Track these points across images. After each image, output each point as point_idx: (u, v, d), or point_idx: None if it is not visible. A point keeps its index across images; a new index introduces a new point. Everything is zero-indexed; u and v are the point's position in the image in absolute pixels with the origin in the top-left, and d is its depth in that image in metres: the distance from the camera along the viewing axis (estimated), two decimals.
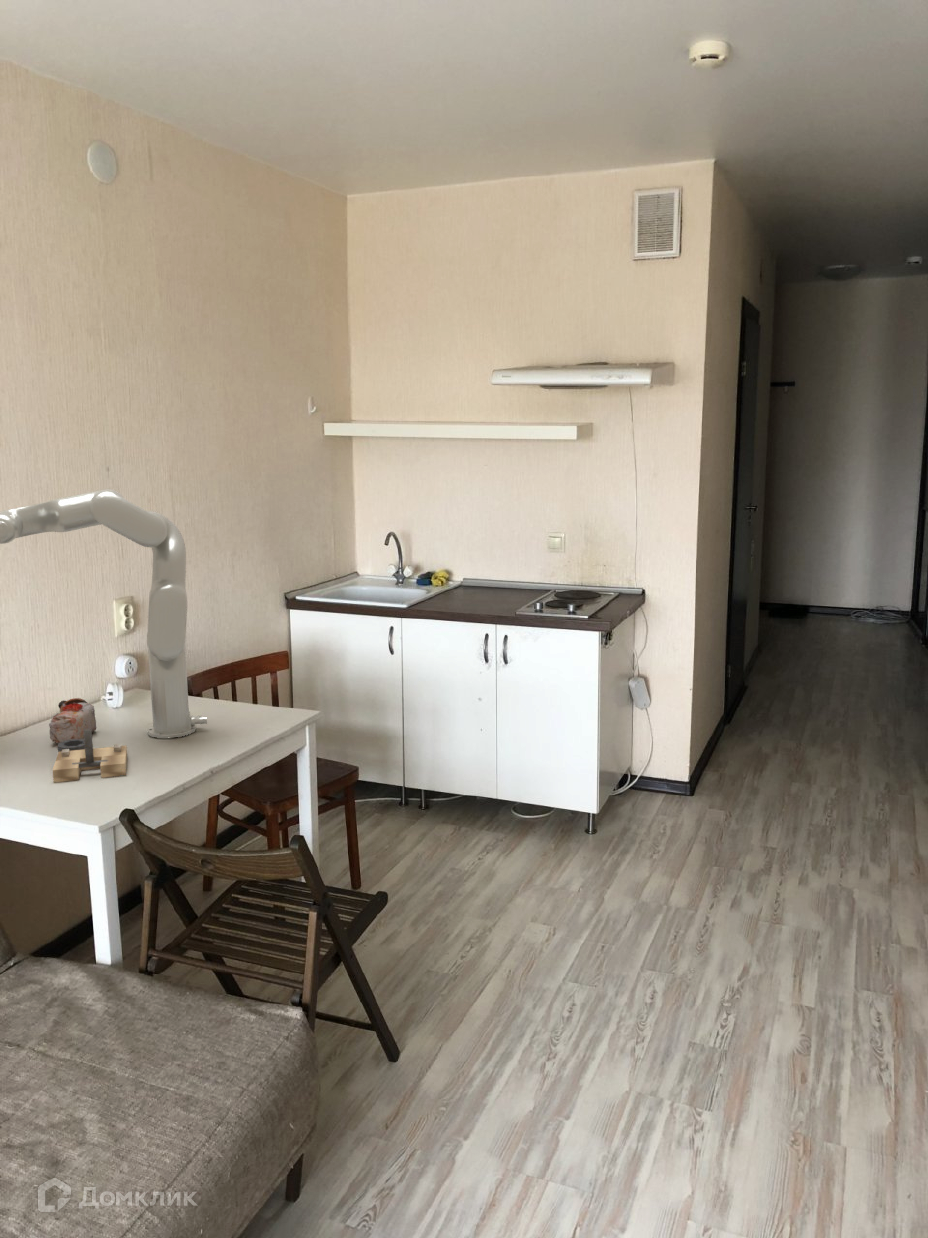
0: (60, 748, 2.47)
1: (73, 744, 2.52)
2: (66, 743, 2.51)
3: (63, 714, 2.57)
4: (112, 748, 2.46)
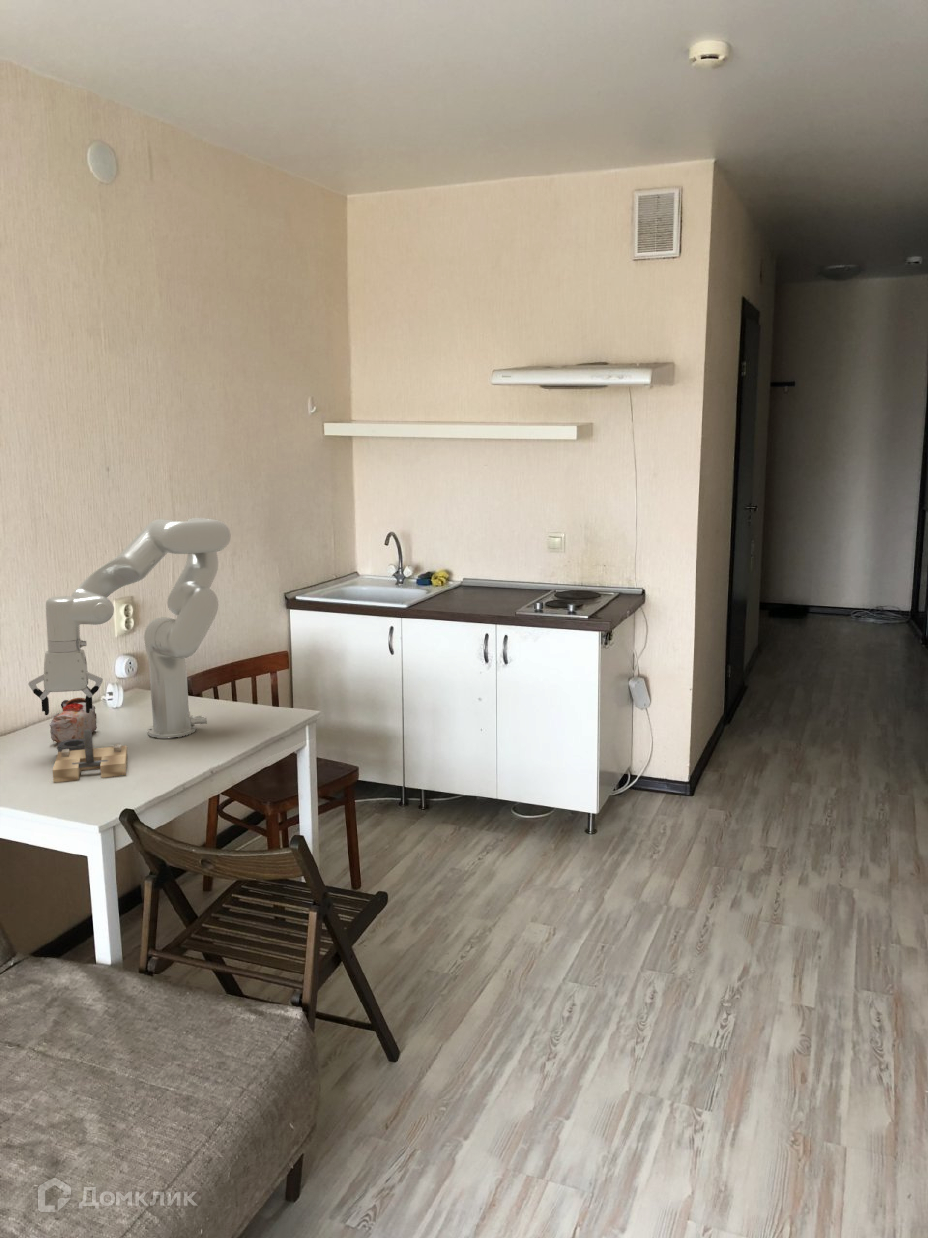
0: (60, 748, 2.47)
1: (73, 744, 2.52)
2: (66, 743, 2.51)
3: (64, 714, 2.57)
4: (112, 748, 2.46)
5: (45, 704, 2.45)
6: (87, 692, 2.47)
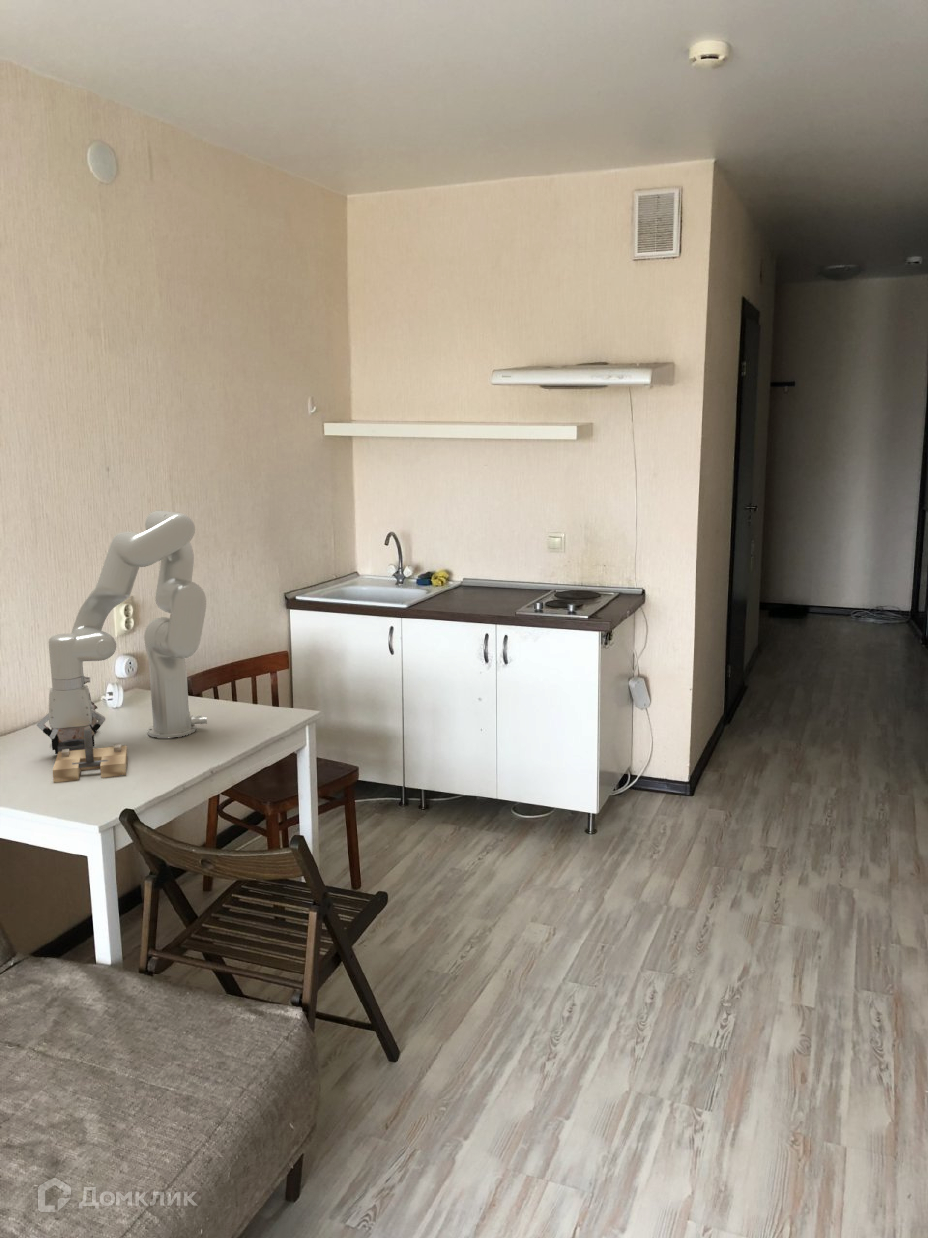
0: (60, 748, 2.47)
1: (73, 744, 2.52)
2: (66, 743, 2.51)
3: None
4: (112, 748, 2.46)
5: (55, 743, 2.47)
6: None
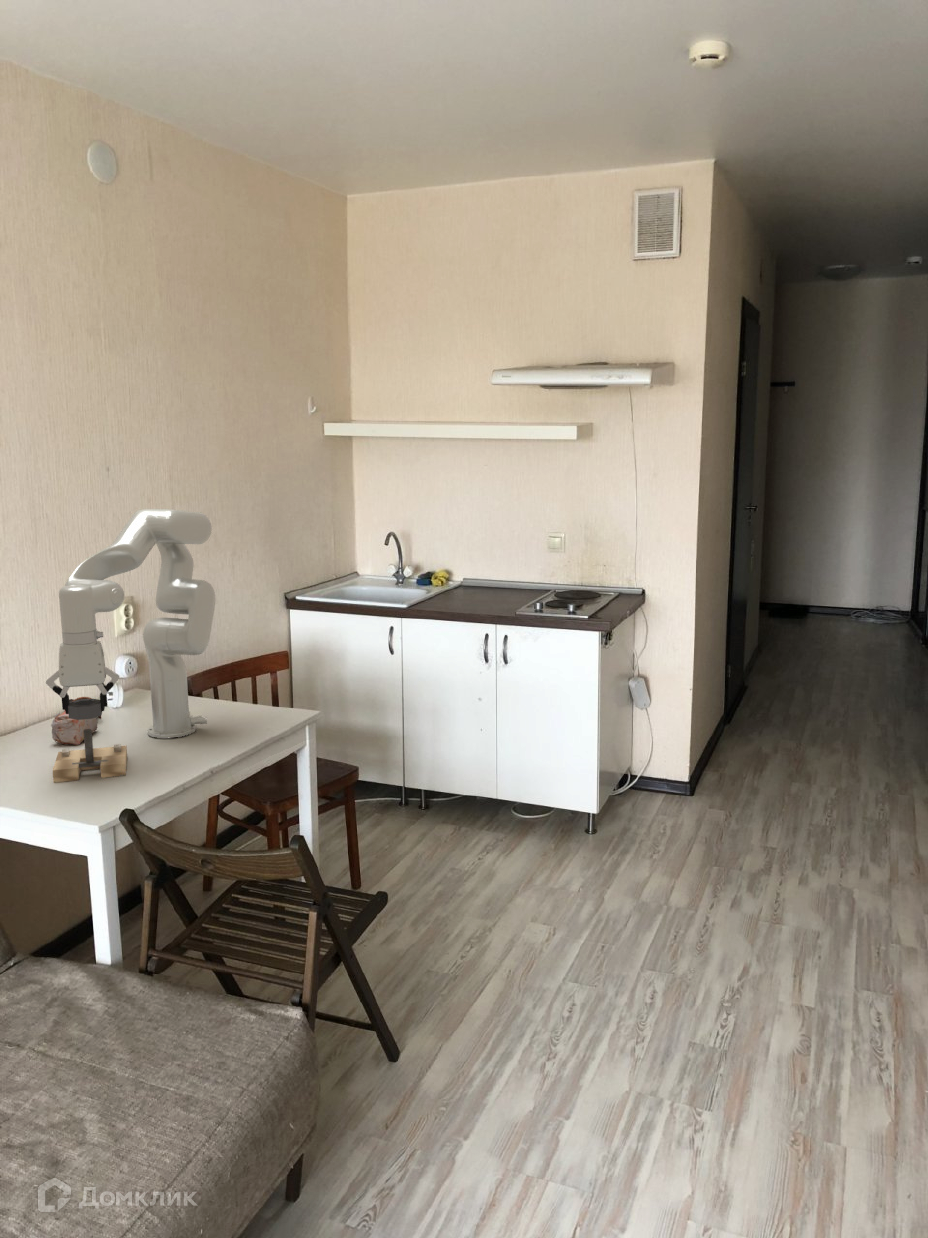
0: (71, 707, 2.30)
1: (84, 704, 2.35)
2: (77, 703, 2.34)
3: (65, 714, 2.57)
4: (112, 748, 2.46)
5: (66, 702, 2.30)
6: (102, 689, 2.33)
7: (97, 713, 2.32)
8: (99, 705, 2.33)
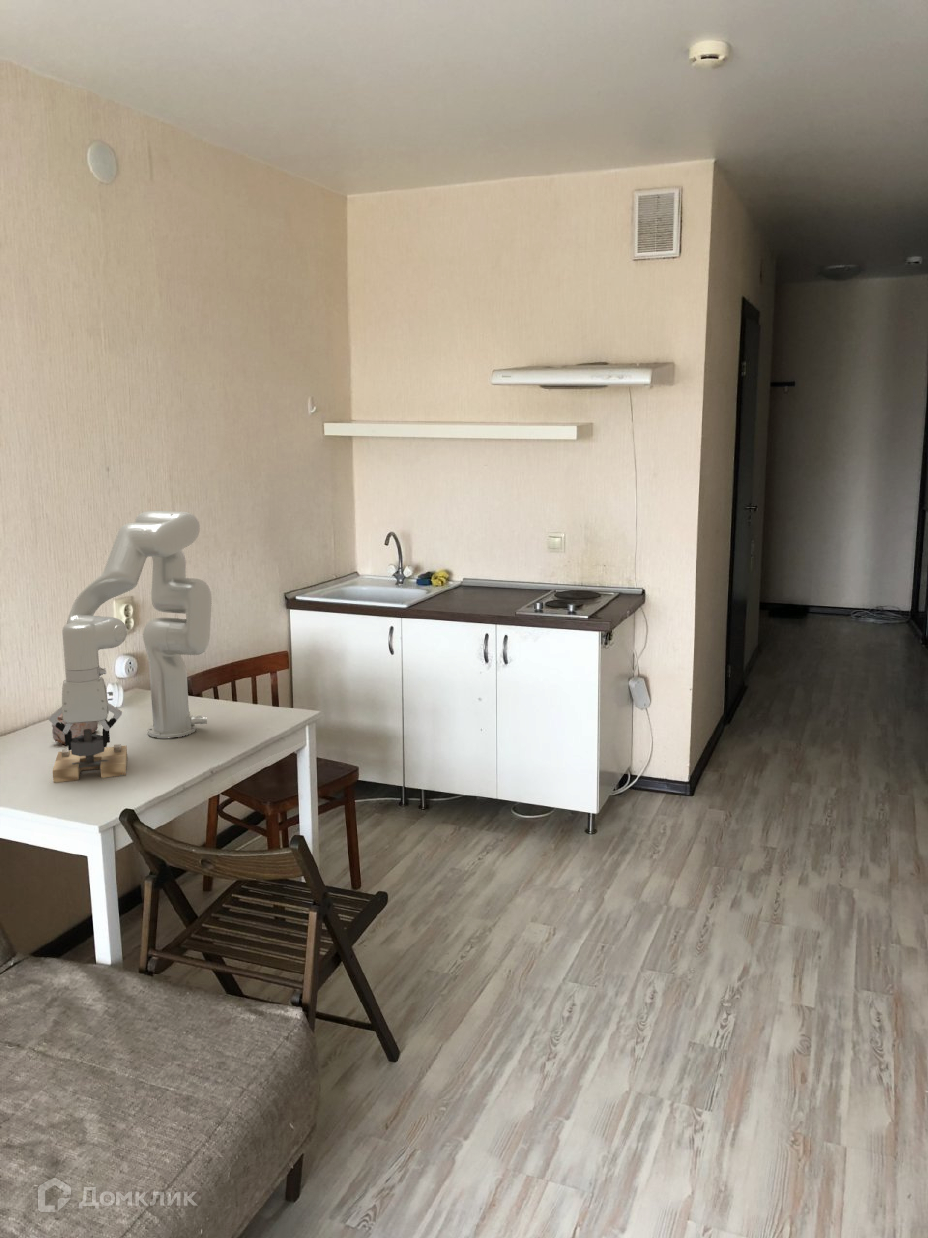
0: (73, 744, 2.32)
1: None
2: (80, 739, 2.36)
3: None
4: (112, 748, 2.46)
5: (68, 738, 2.32)
6: (105, 725, 2.34)
7: (99, 750, 2.34)
8: (102, 741, 2.34)
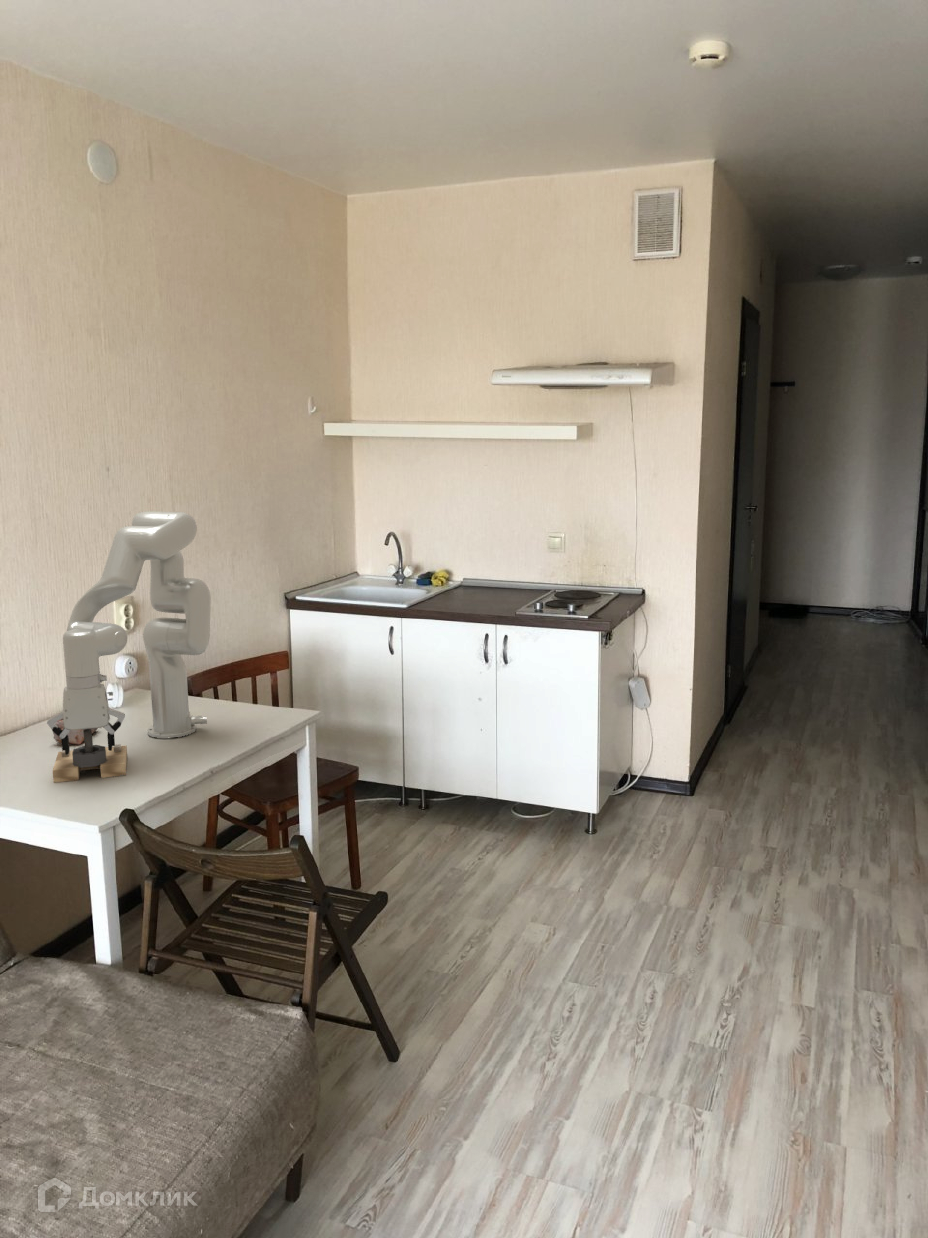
0: (75, 755, 2.33)
1: None
2: (81, 750, 2.36)
3: None
4: (112, 748, 2.46)
5: (65, 743, 2.32)
6: (109, 729, 2.35)
7: (101, 761, 2.35)
8: (103, 752, 2.35)
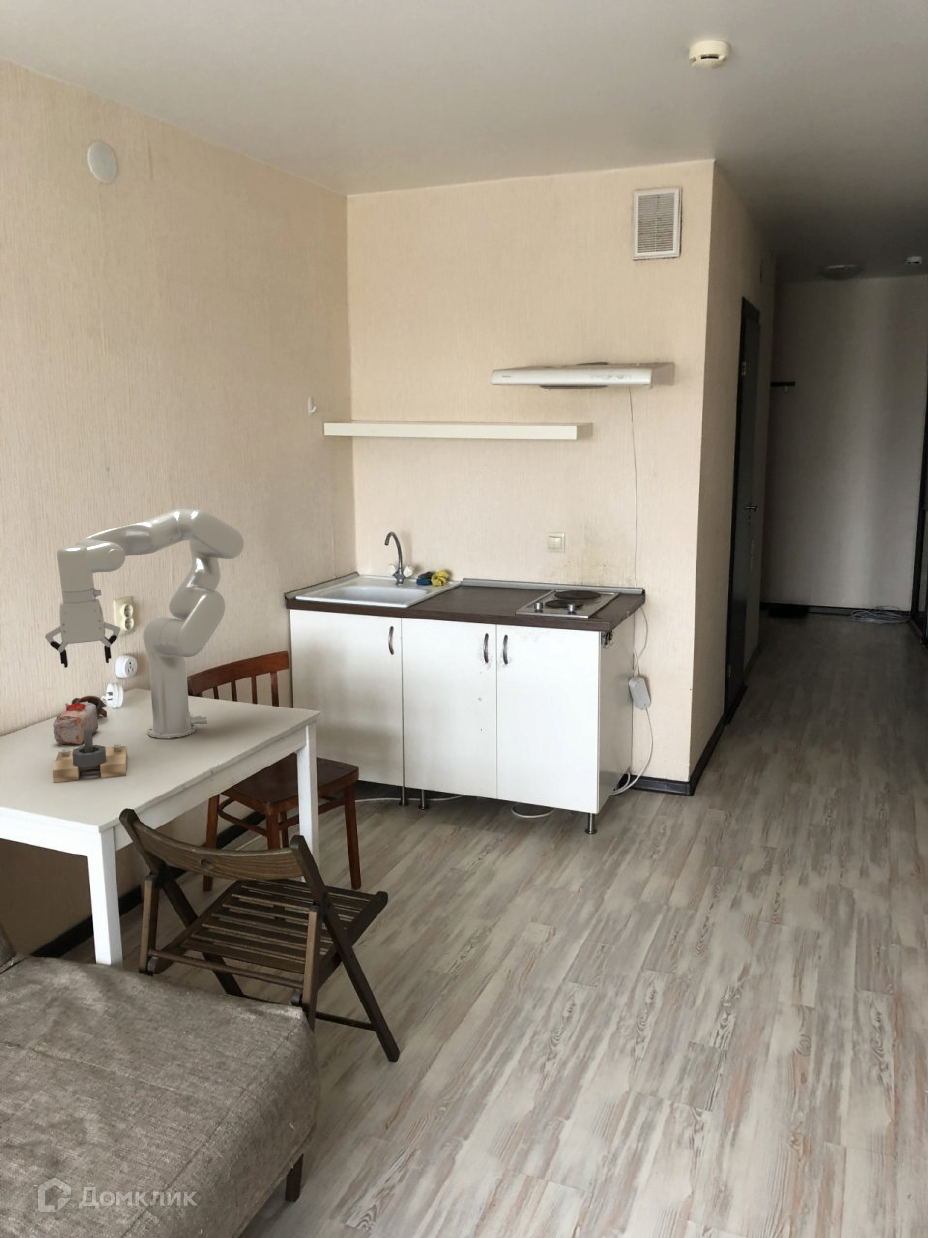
0: (75, 755, 2.33)
1: None
2: (81, 750, 2.36)
3: (67, 714, 2.58)
4: (112, 748, 2.46)
5: (64, 656, 2.40)
6: (105, 642, 2.43)
7: (101, 761, 2.35)
8: (103, 752, 2.35)
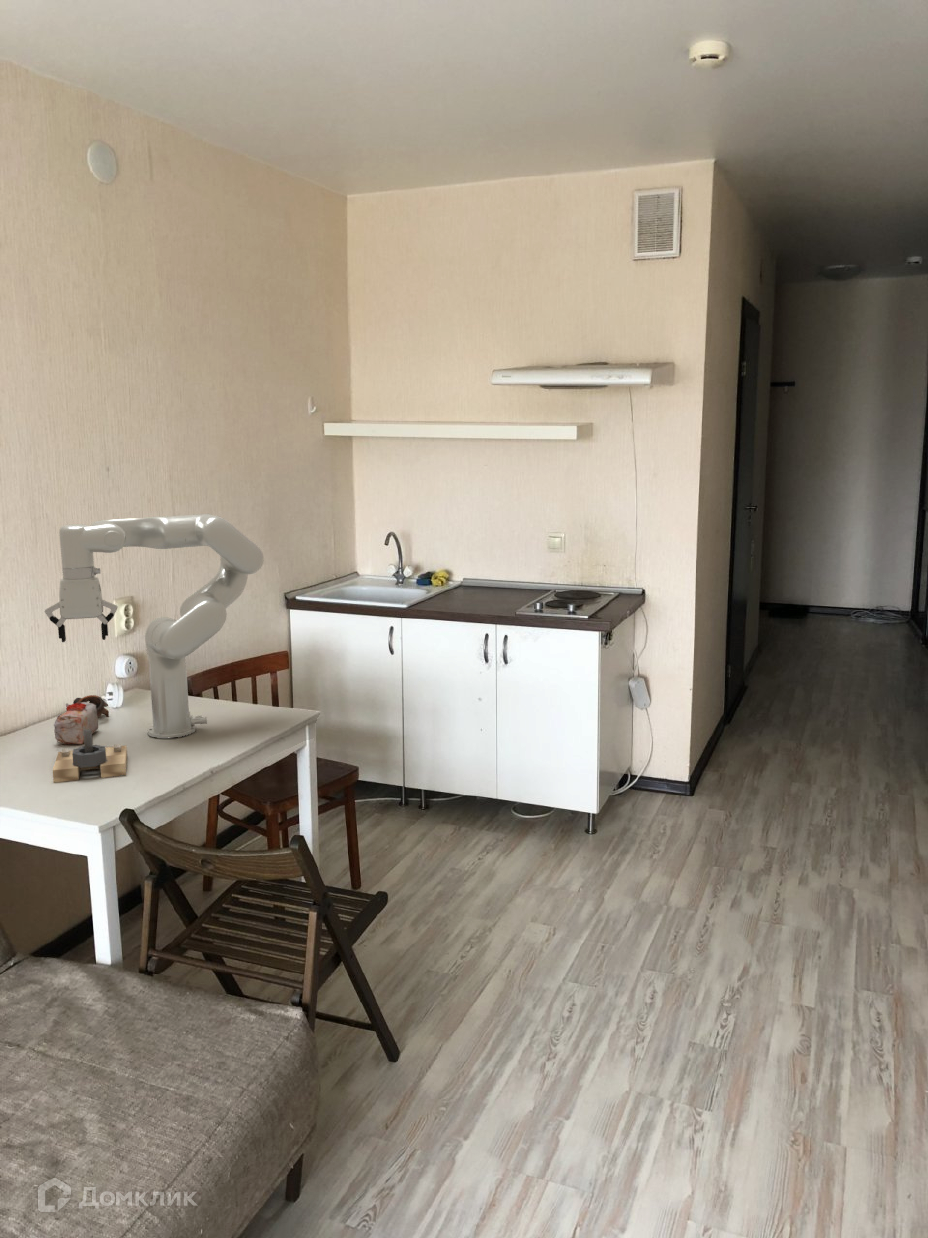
0: (75, 755, 2.33)
1: None
2: (81, 750, 2.36)
3: (68, 714, 2.58)
4: (112, 748, 2.46)
5: (62, 631, 2.49)
6: (102, 619, 2.51)
7: (101, 761, 2.35)
8: (103, 752, 2.35)
